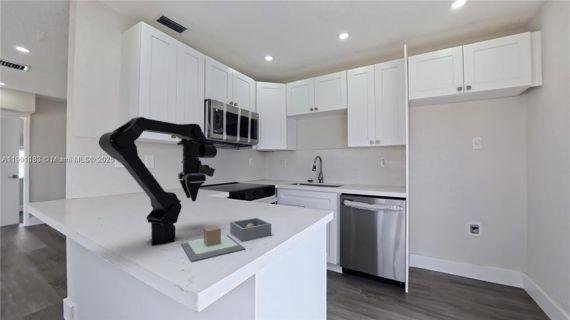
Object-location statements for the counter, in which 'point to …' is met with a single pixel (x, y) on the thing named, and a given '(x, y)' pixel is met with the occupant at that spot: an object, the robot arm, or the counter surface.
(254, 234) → the dish
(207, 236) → the lid
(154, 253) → the counter surface
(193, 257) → the mat
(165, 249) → the counter surface
